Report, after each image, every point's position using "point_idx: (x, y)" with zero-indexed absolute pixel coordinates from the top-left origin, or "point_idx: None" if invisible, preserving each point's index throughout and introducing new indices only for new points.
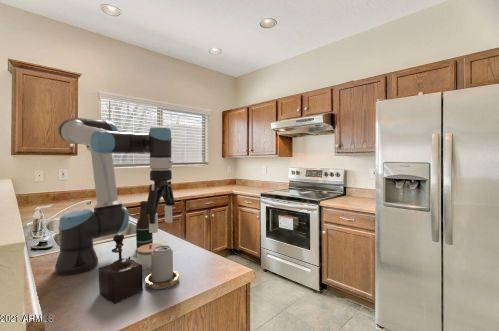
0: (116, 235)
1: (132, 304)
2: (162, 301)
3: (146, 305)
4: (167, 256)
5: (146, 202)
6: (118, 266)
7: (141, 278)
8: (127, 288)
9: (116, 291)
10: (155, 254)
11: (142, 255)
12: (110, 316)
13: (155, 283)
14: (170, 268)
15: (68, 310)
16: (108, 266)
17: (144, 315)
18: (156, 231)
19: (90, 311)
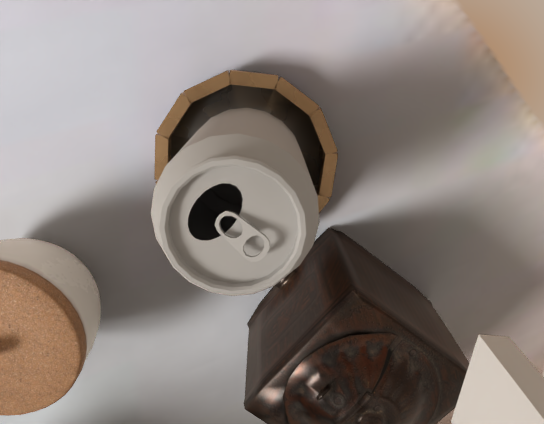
0: None
1: (442, 229)
2: (440, 103)
3: (462, 167)
4: (293, 155)
5: None
6: (416, 403)
7: (345, 257)
8: (399, 289)
9: (438, 321)
10: (304, 250)
11: (87, 352)
12: (514, 276)
13: (321, 181)
14: (268, 122)
15: (444, 421)
16: None
17: (539, 149)
18: (517, 353)
19: (464, 354)
